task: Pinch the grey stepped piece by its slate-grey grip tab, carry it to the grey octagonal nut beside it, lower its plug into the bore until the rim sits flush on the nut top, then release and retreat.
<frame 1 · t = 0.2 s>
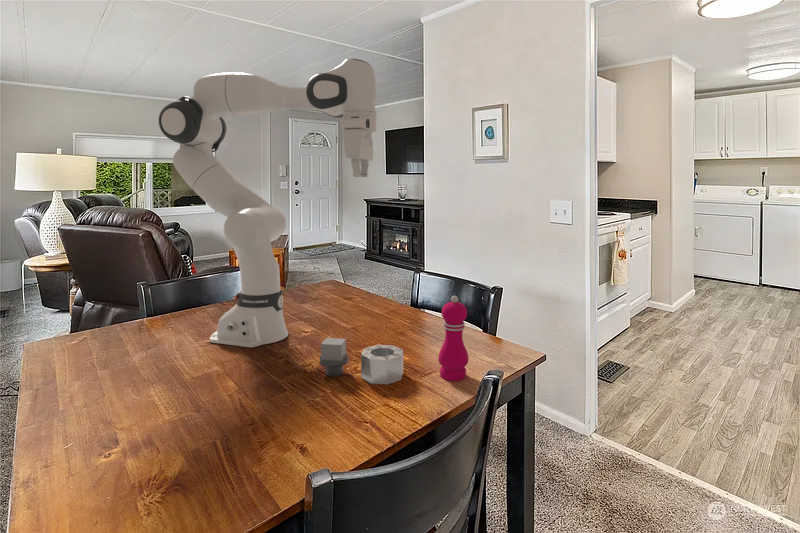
hand: (360, 177, 127), 47 cm above the table, fingers open, 8 cm apart
grey stepped piece: (334, 373, 114), on the table
grey octagonal nut: (382, 375, 113), on the table
pepper mill: (452, 376, 113), on the table
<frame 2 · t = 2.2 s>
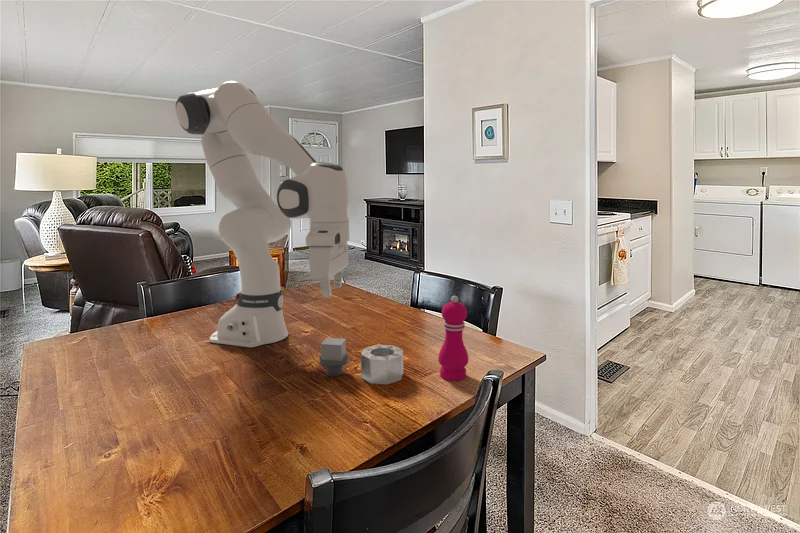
hand: (332, 291, 110), 21 cm above the table, fingers open, 8 cm apart
nothing on the table moved.
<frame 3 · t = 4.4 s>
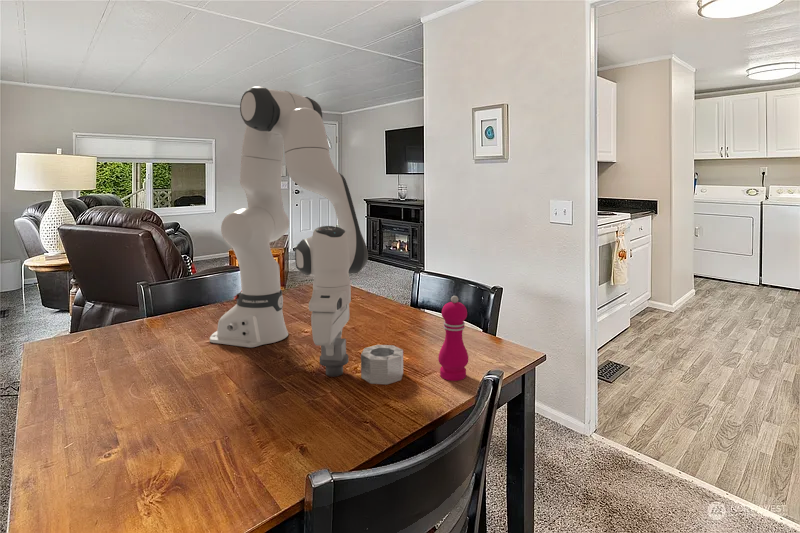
hand: (333, 350, 113), 6 cm above the table, fingers closed on grey stepped piece, 4 cm apart
grey stepped piece: (334, 373, 114), on the table, touching gripper
everything else where it was.
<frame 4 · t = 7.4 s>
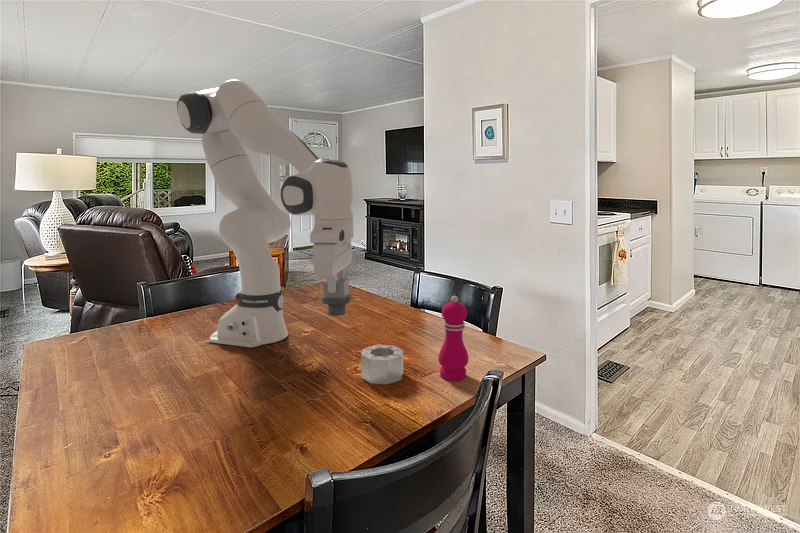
hand: (336, 289, 110), 21 cm above the table, fingers closed on grey stepped piece, 4 cm apart
grey stepped piece: (337, 313, 111), point 15 cm above the table, touching gripper
everything else where it was.
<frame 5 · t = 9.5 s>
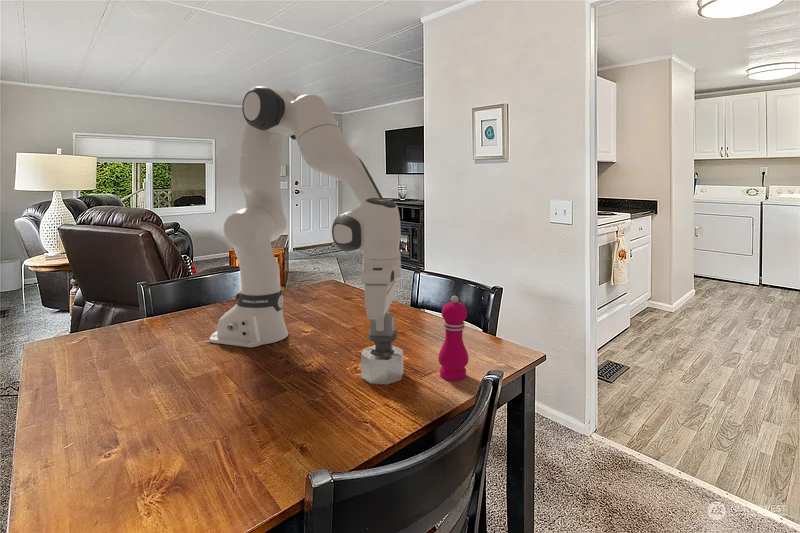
hand: (382, 326, 110), 13 cm above the table, fingers closed on grey stepped piece, 4 cm apart
grey stepped piece: (383, 349, 111), point 7 cm above the table, touching gripper
everything else where it was.
when the fingers open (9 cm above the table, at t = 10.6 s): grey stepped piece stays where it is, resting on grey octagonal nut.
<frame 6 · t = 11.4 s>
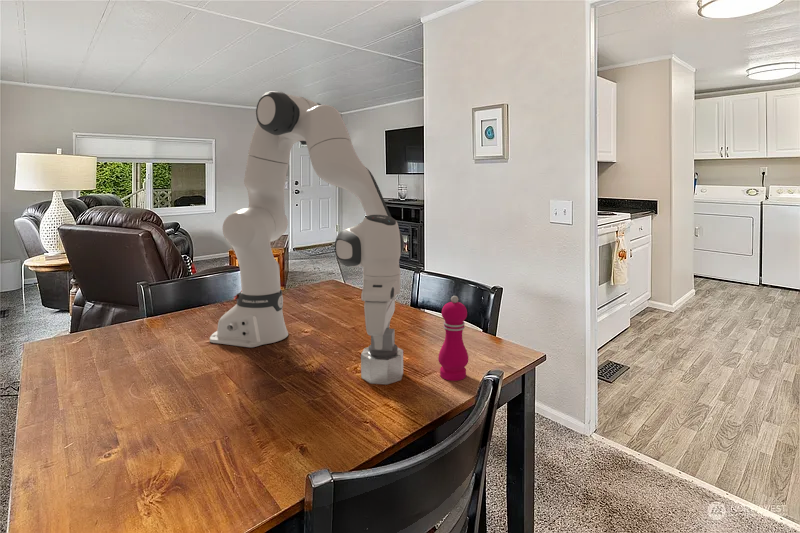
hand: (382, 341, 111), 9 cm above the table, fingers open, 8 cm apart
grey stepped piece: (383, 363, 112), point 3 cm above the table, touching grey octagonal nut
everything else where it was.
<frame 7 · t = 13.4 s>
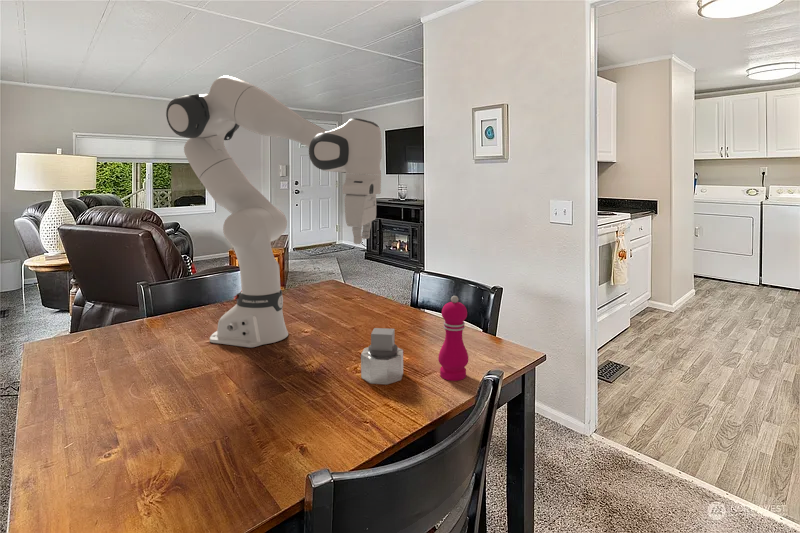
hand: (361, 240, 119), 31 cm above the table, fingers open, 8 cm apart
nothing on the table moved.
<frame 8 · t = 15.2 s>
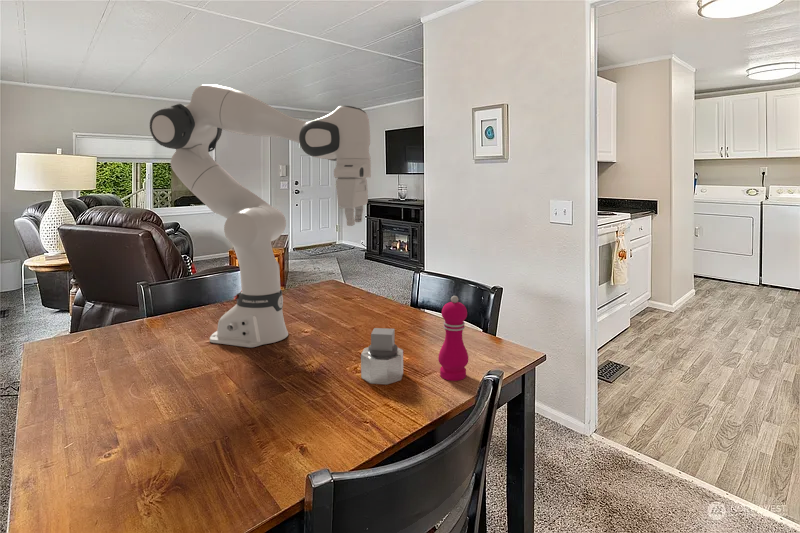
hand: (354, 223, 124), 35 cm above the table, fingers open, 8 cm apart
nothing on the table moved.
at the end: grey stepped piece 0.2 cm off-centre on the grey octagonal nut, point 3.0 cm above the grey octagonal nut's base; grey stepped piece tilted 0°; the gripper is holding nothing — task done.
